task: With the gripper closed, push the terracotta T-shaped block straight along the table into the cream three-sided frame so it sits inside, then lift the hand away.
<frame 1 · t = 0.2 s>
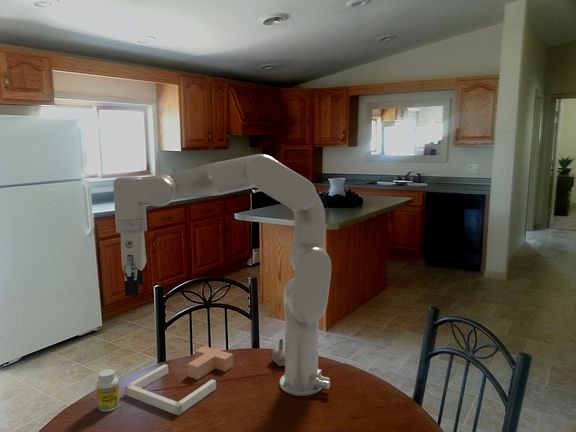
hand: (134, 289, 116), 31 cm above the table, tool pointing down, fingers open, 9 cm apart
supplement bottle: (109, 407, 117), on the table
garlic bulb: (281, 363, 142), on the table
t block: (209, 367, 139), on the table
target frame: (169, 392, 124), on the table
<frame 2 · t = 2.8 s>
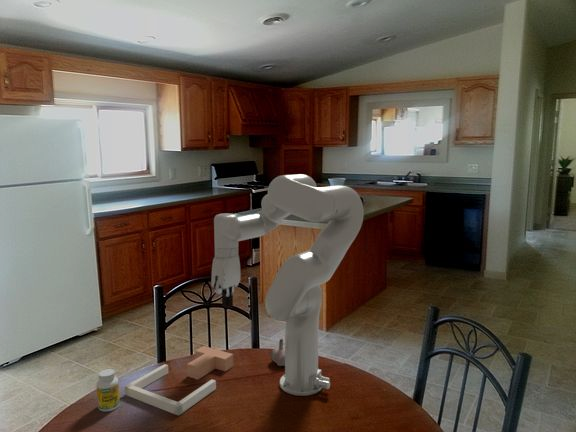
hand: (227, 306, 145), 17 cm above the table, tool pointing down, fingers closed
nothing on the table moved.
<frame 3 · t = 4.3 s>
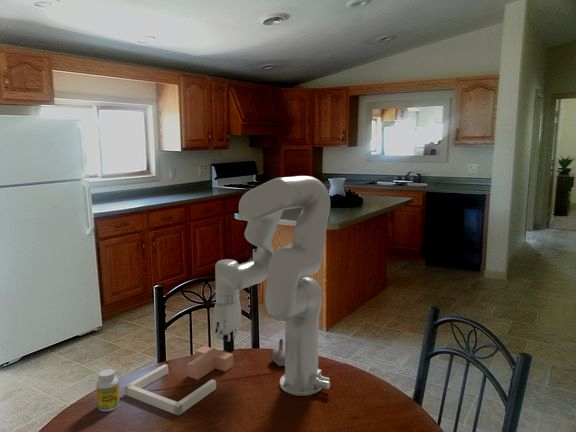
hand: (228, 350, 147), 1 cm above the table, tool pointing down, fingers closed
nothing on the table moved.
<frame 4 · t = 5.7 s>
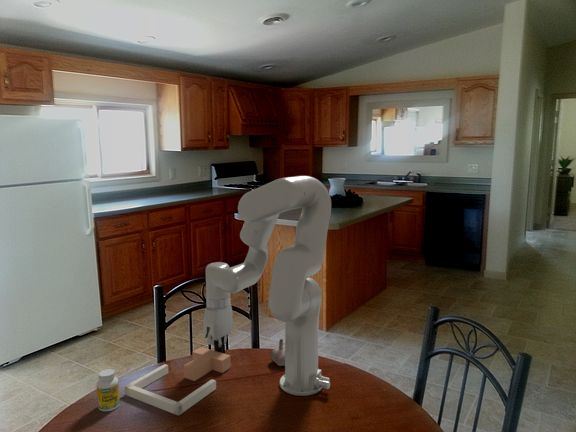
hand: (219, 356, 143), 1 cm above the table, tool pointing down, fingers closed
t block: (206, 368, 138), on the table, touching gripper
everything else where it was.
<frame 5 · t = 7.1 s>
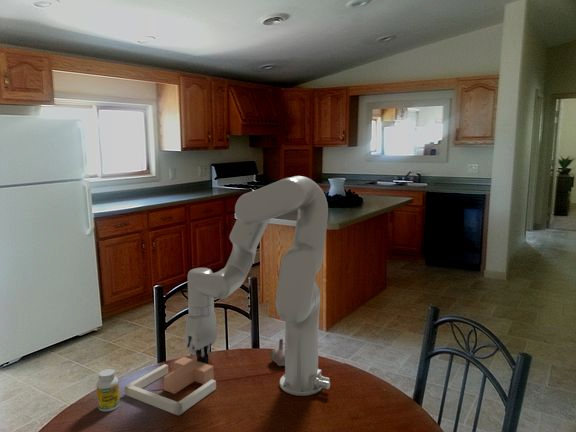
hand: (202, 366, 136), 1 cm above the table, tool pointing down, fingers closed
t block: (188, 380, 131), on the table, touching gripper
everything else where it was.
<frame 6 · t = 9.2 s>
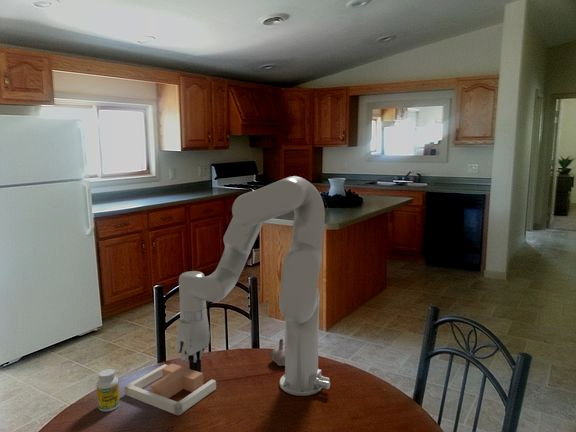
hand: (195, 372, 133), 1 cm above the table, tool pointing down, fingers closed
t block: (177, 387, 127), on the table
everything else where it was.
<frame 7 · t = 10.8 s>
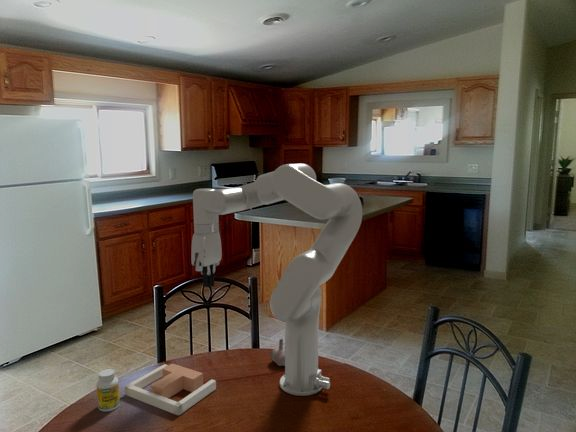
hand: (208, 285, 139), 25 cm above the table, tool pointing down, fingers closed
nothing on the table moved.
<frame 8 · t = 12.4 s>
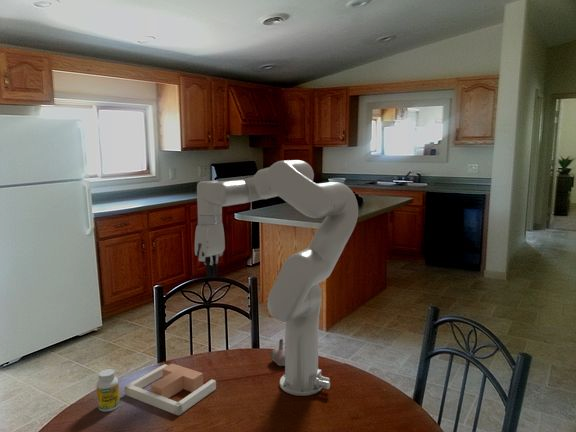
hand: (211, 276, 143), 27 cm above the table, tool pointing down, fingers closed
nothing on the table moved.
at the end: t block 0.2 cm from the target spot on the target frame, point 0.0 cm above the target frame's base; t block moved 14.0 cm from its start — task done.
